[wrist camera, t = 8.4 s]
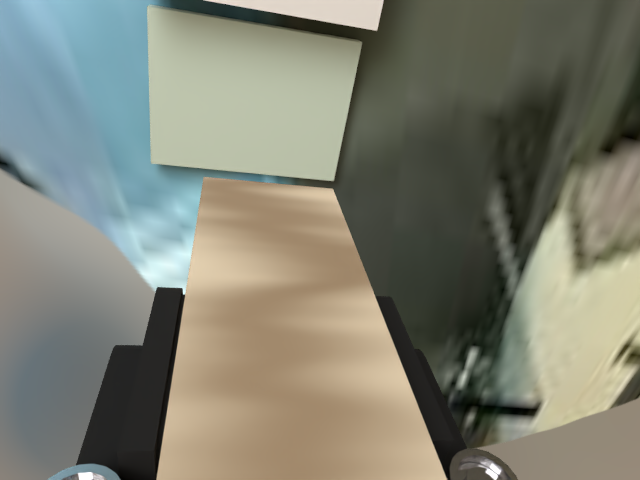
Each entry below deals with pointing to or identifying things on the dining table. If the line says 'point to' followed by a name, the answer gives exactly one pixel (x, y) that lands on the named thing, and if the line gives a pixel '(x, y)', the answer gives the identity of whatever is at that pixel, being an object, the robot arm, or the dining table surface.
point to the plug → (286, 350)
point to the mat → (247, 94)
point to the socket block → (321, 10)
